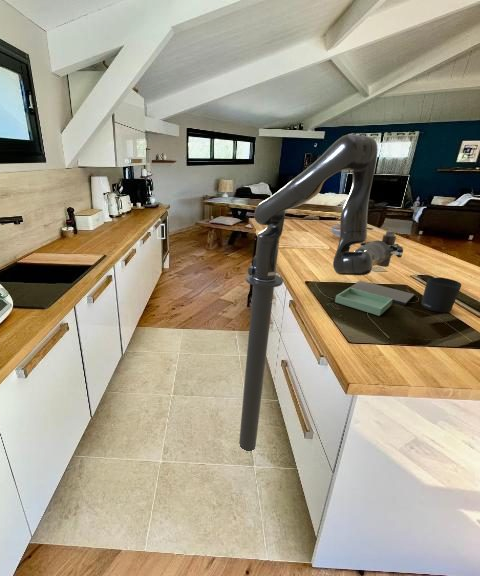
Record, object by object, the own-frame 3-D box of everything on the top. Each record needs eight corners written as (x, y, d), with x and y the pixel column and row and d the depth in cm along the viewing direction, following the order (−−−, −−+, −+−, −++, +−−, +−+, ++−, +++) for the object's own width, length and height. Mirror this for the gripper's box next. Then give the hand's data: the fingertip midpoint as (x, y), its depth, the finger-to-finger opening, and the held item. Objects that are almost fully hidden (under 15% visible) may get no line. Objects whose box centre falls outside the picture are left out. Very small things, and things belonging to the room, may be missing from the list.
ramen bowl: (320, 238, 212) (322, 226, 209) (335, 233, 226) (337, 222, 223) (358, 245, 195) (361, 232, 192) (372, 239, 210) (375, 227, 206)
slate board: (348, 289, 126) (349, 287, 126) (359, 282, 134) (360, 280, 134) (405, 305, 113) (405, 302, 113) (413, 296, 121) (414, 294, 120)
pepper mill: (374, 264, 115) (382, 231, 111) (378, 262, 118) (386, 229, 113) (386, 267, 113) (395, 232, 108) (390, 265, 115) (399, 231, 110)
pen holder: (416, 300, 117) (424, 275, 113) (447, 304, 114) (456, 279, 110) (423, 310, 109) (431, 284, 105) (456, 315, 106) (466, 288, 102)
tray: (334, 302, 115) (336, 295, 114) (348, 293, 123) (349, 287, 122) (379, 316, 105) (381, 309, 104) (391, 305, 113) (392, 299, 112)
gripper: (399, 246, 97) (415, 238, 108) (352, 238, 107) (371, 232, 118) (393, 269, 100) (409, 259, 111) (348, 259, 110) (366, 251, 121)
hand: (389, 245), depth 114 cm, fingers closed on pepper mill, 4 cm apart
